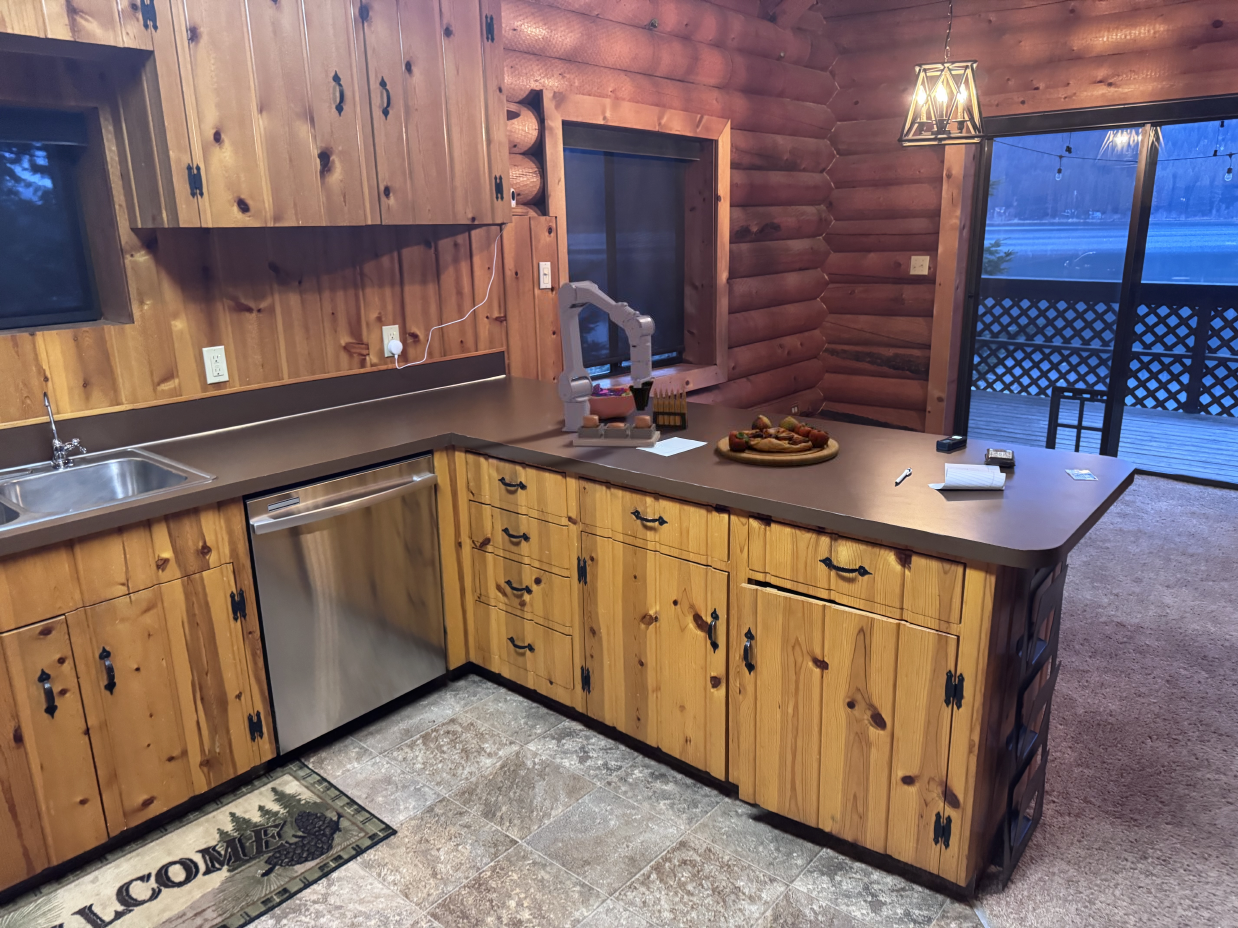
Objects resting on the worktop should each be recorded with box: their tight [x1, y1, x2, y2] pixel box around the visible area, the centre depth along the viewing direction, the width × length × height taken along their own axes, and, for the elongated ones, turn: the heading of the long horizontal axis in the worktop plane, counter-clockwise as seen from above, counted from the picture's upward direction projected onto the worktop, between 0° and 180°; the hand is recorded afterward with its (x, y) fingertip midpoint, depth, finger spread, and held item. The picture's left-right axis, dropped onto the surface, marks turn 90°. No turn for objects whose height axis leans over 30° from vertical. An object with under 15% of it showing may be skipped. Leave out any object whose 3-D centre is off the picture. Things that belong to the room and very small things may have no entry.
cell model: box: [588, 382, 636, 420], centre depth 273 cm, size 17×20×11 cm
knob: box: [634, 414, 651, 429], centre depth 242 cm, size 4×4×3 cm
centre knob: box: [609, 422, 625, 428], centre depth 244 cm, size 4×4×3 cm
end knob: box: [583, 415, 600, 428], centre depth 245 cm, size 4×4×3 cm
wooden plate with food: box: [716, 414, 840, 467], centre depth 228 cm, size 32×32×8 cm
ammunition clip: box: [652, 388, 689, 430], centre depth 257 cm, size 11×2×12 cm, turn 69°
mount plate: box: [572, 423, 661, 448], centre depth 244 cm, size 12×23×4 cm, turn 79°
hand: (642, 408), depth 241 cm, fingers open, 4 cm apart
